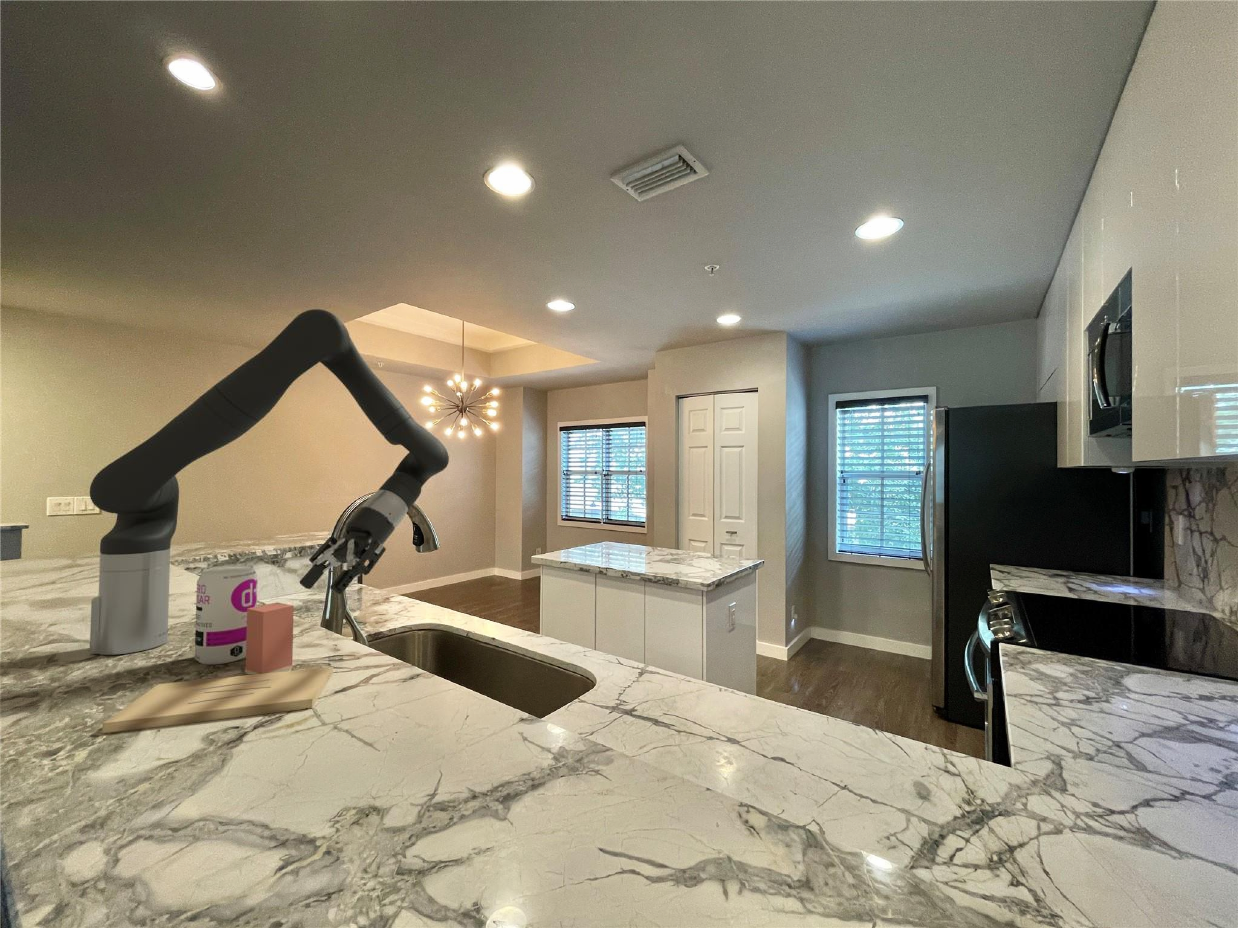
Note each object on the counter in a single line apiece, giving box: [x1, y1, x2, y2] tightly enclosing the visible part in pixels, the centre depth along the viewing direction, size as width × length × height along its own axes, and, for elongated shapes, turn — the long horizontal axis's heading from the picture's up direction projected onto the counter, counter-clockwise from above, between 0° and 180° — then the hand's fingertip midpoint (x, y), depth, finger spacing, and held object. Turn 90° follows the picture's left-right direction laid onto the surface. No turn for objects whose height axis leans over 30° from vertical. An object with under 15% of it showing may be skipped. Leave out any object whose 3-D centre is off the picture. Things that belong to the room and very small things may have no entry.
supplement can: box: [194, 564, 259, 666], centre depth 86 cm, size 8×8×15 cm
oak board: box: [101, 666, 334, 734], centre depth 69 cm, size 22×12×1 cm, turn 108°
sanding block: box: [244, 602, 295, 675], centre depth 80 cm, size 5×5×10 cm
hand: (319, 588), depth 87 cm, fingers open, 8 cm apart
